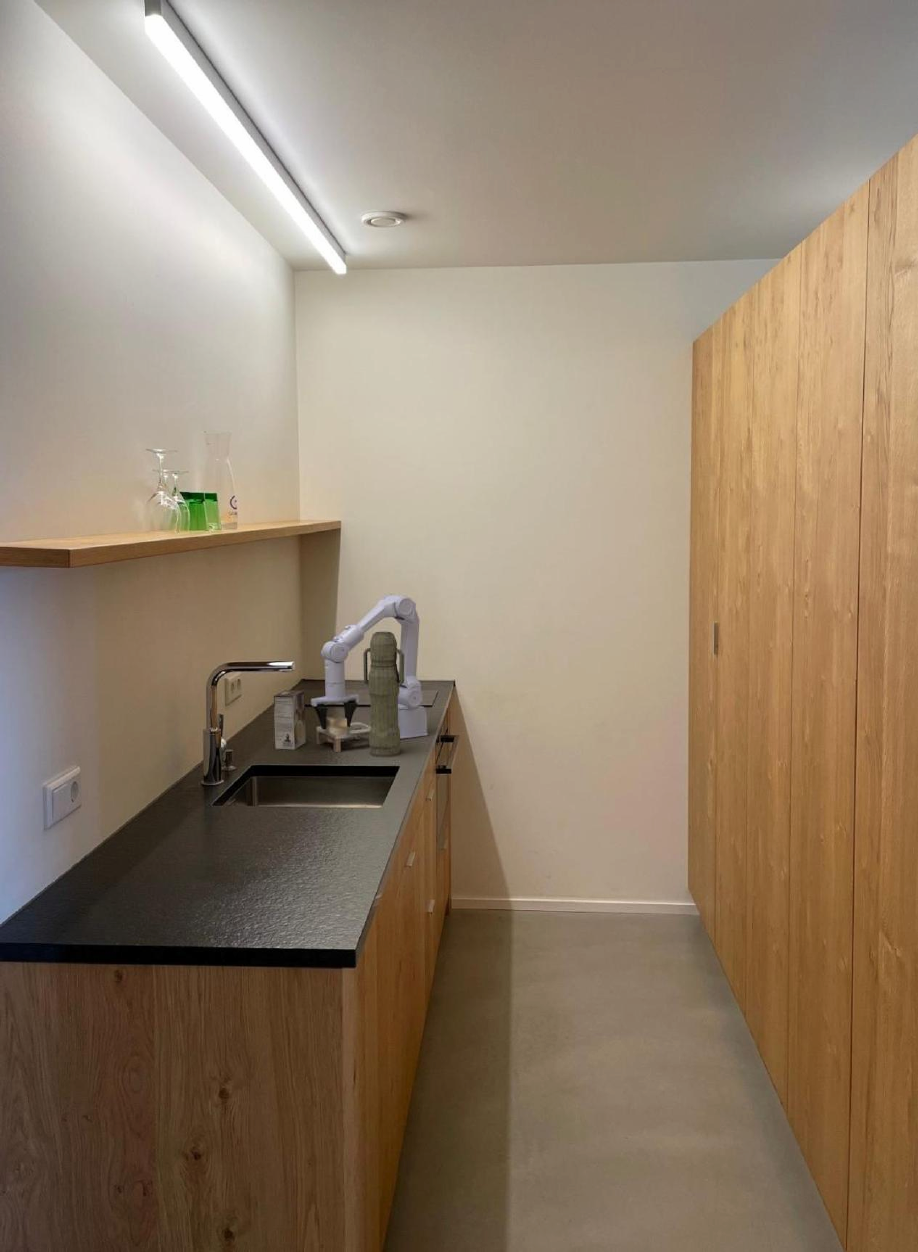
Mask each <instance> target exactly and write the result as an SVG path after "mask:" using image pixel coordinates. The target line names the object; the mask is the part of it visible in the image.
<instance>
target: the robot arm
mask: <svg viewBox="0 0 918 1252" xmlns="http://www.w3.org/2000/svg"><path fill="white" fill-rule="evenodd" d="M416 605H417V603H416V602H415V601H414V600H413V599H412V598H411V597H409V596H408V595H396V594H386V595H385V596H384V597H383V598H381V599H380V600H378V602H377V604H376V605H375V606H374V607H373V608H372V609H371V610H370V611H369V612H368V613H367V614H366V615H364V617H363V618H362V619H361V620H360V621H359V622H358V623H357V624H350V625H346V626H345V627H344V630H343V631H342V632H341V633H340V634H338V635H337V636H334V637H333V639H332V640H330V641H327V642H326V643H324V645H323V647H322V649H321V651H320V654H321V657H322V659H323V660H324V676H325V677H324V680H325V681H324V682H325V683H324V689H325V692H324V693H325V696H320V697H315V698H311V699H310V703H311V705H310V706H312V707H313V709H314V711H315V712H316V715H317V718H318V720H319V724H320V726H321V728H322V729H323V730H326V727H327V725H326V718H327V714H328V707H326V705H333V704H335V705H336V704H343V710H344V718H346V719H347V727H350V724H351V723H352V719H353V716H354V713H355V711H356V709H357V707H358V703H357V702H360V694H357V693H356V694H353V693H352V694H346V680H345V675H346V674H345V673H346V672H345V669H346V668H345V661H346V660H347V658H348V656H349V652H351V651H352V650H353V649H354V648H355V647H356V646H357V645H359V644H360V643H361V642H362V641H363V640H364V638H365V633H367V632H368V631H369V630H370V629H372V628H373V627H374V626H375V625H377V624H378V623H380V621H382V620H383V619H385V618H393V619H395V621H396V622H397V623H399V625H400V626H401V627H400V642H399V643H400V647H399V649H400V650H402V652H403V653H404V683H403V684H402V685H401V686H399V689H400V692H399V695H398V727H399V729H400V740H401V739H402V740H403V739H408V738H409V739H411V738H417V737H424V736H425V737H426V736H429V733H428V716H427V715H428V714H427V710H426V707H424V705H421V704H422V701H423V692H422V683H421V682H420V681H419V679H418V677H417V670H418V669H417V668H418V666H417V665H418V652H419V651H418V650H419V649H418V648H419V637H420V636H419V634H420V618H419V615H418V611H417V608H416V607H417V606H416ZM398 672H399V681H400V668H399V667H398Z"/></svg>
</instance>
